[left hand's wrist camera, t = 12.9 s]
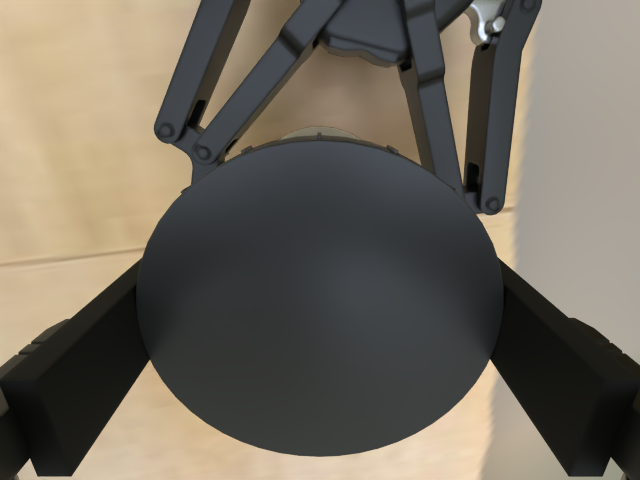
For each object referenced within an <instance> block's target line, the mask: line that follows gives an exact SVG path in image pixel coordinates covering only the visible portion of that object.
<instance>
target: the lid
mask: <svg viewBox="0 0 640 480" xmlns="http://www.w3.org/2000/svg"><path fill="white" fill-rule="evenodd" d="M397 152H398V150H396V149H394V148H393V147H391V146H389V145H387V147H386V148H385V147H382V146H379V145H377V144H374V143H371V142H367V141H363V140H358V139H353V138H349V137H340V136H326V135H321V132H318V133H317V135H314V136H299V137H292V138H287V139H282V140H277V141H272V142H269V143H266V144H263V145H260V146H258V147H255V148H252V146H249V147H247V148H245V149H244V150H242V151H241V154H239V155H237V156H235V157H233V158H232V159H230V160H228V161H226V162H224V163H223V164H221V165H219V166H217V167H216V168H214V169H213V170H211V171H210V172H208V173H207V174H206V175H204V176H203V177H201V178H200V179H199V180H197V181H196V182H194V183H193V184H192V185H190V186H189V187H187V188H185V189H184V190H182V191H181V193H182V194H181V195H180V196H179V197H178V198H177V199H176V200H175V201H174V202H173V203H172V205H171V206H170V207H169V209H168V210H167V211H166V213H165V214H164V215H163V217H162V218H161V219H160V221H159V222H158V224H157V226H156V228H155V229H154V231H153V233H152V235H151V237H150V239H149V241H148V243H147V246H146V248H145V251H144V254H143V257H142V260H141V263H140V268H139V274H138V279H137V285H136V310H137V318H138V323H139V328H140V332H141V336H142V340H143V343H144V347H145V349H146V351H147V353H148V356H149V358H150V360H151V362H152V364H153V366H154V368H155V369H156V371H157V372H158V374H159V376H160V377H161V379H162V380H163V382H164V383H165V384H166V386H167V387H168V388H169V389H170V391H171V392H172V393H173V394H174V395H175V397H176V398H177V399H178V400H179V401H180V402H182V403H183V404H184V405H185V406H186V407H187V408H188V409H189V410H190V411H191V412H192V413H194V414H195V415H196V416H198V417H199V418H200V419H202V420H203V421H204V422H206V423H207V424H209V425H210V426H212V427H214V428H215V429H217V430H219V431H220V432H222V433H224V434H226V435H228V436H230V437H233V438H235V439H237V440H239V441H241V442H244V443H247V444H250V445H253V446H255V447H258V448H262V449H266V450H270V451H274V452H278V453H284V454H291V455H298V456H315V457H323V456H341V455H349V454H356V453H361V452H366V451H370V450H374V449H378V448H381V447H384V446H387V445H390V444H393V443H396V442H398V441H401V440H403V439H405V438H407V437H409V436H411V435H414V434H416V433H417V432H419V431H421V430H423V429H424V428H426V427H428V426H429V425H431V424H433V423H434V422H435V421H437V420H438V419H439V418H441V417H442V416H443V415H445V414H446V413H447V412H449V411H450V410H451V409H452V408H453V407H454V406H455V405H456V404H457V403H458V402H459V401H460V400H461V399H462V398H463V397H464V396H465V395H466V394H467V393H468V391H469V390H470V389H471V388H472V387H473V385H474V384H475V383H476V381H477V380H478V378H479V377H480V375H481V374H482V372H483V371H484V369H485V367H486V366H487V364H488V361H489V359H490V357H491V355H492V353H493V351H494V349H495V346H496V342H497V339H498V336H499V332H500V328H501V323H502V316H503V309H504V287H503V280H502V274H501V268H500V264H499V261H498V258H497V255H496V252H495V249H494V246H493V243H492V241H491V239H490V237H489V235H488V233H487V232H486V230H485V228H484V226H483V224H482V222H481V221H480V220H479V218H478V217H477V215H476V214H475V213H474V211H473V210H472V209H471V207H470V206H469V205H468V203H467V202H466V201H465V200H464V199H463V198H462V197H461V196H460V195H459V194H458V190H457V189H455V188H453V187H452V186H450V185H448V184H447V183H445V182H444V181H443V180H441V179H440V178H439V177H437V176H436V175H434V174H433V173H432V172H430V171H429V170H427V169H426V168H424V167H422V166H421V165H419V164H417V163H416V162H414V161H412V160H410V159H408V158H406V157H404V156H403V155H401V154H399V153H397Z"/></svg>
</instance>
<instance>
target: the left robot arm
mask: <svg viewBox="0 0 640 480" xmlns="http://www.w3.org/2000/svg"><path fill="white" fill-rule="evenodd" d="M497 258H498V257H497ZM141 260H142V258H141V259H140V260H139V261H138V262H137V263H135V264H134V265H133V266H132V267H131V268H129V269H128V270H127V271H126V272H125V273H124V274H122V275H121V276H120V277H119V278H118V279H117V280H115V281H114V282H113V283H112V284H111V285H110V286H108V287H107V288H106V289H105V290H104V291H103V292H101V293H100V294H99V295H98V296H97V297H96V298H94V299H93V300H92V301H91V302H90V303H88V304H87V305H86V306H85V307H84V308H83V309H81V310H80V311H79V312H78V313H77V314H76V315H74V316H73V317H72V318H71V319H65V320H63V321H62V322H60V323H58V324H56V325H54V326H52V327H50V328H48V329H46V330H45V331H44V332H43V333H42V334H40V335H39V336H38V337H37V338H35V339H34V340H33V341H32V342H31V344H28V345H27V346H26V347H24V348H23V349H22V350H21V351H20V352H19V354H18V355H15V356H13V357H12V358H11V359H10V360H9V361H7V362H6V363H5V364H4V365H2V366H1V367H0V480H19V478H18V476H17V473H18V472H19V471H20V469H21V468H22V467H23V466H24V465H25V463H26V462H27V461H28V460H29V459H31V462H32V464H33V466H34V469H35V471H36V473H37V476H72V475H73V473H74V472H75V470H76V469H77V467H78V466H79V464H80V463H81V461H82V460H83V458H84V457H85V455H86V454H87V452H88V451H89V449H90V448H91V446H92V445H93V443H94V442H95V440H96V439H97V437H98V436H99V434H100V433H101V432H102V430H103V429H104V427H105V426H106V424H107V423H108V421H109V420H110V418H111V417H112V415H113V414H114V412H115V411H116V409H117V408H118V406H119V405H120V403H121V402H122V400H123V399H124V397H125V396H126V394H127V393H128V391H129V390H130V388H131V387H132V385H133V384H134V382H135V381H136V379H137V378H138V376H139V375H140V373H141V372H142V370H143V369H144V367H145V366H146V364H147V363H148V361H149V360H150V358H149V356H148V353H147V351H146V349H145V347H144V343H143V340H142V336H141V332H140V328H139V323H138V318H137V310H136V285H137V279H138V274H139V268H140V263H141ZM498 261H499V264H500V268H501V274H502V280H503V287H504V309H503V316H502V323H501V328H500V332H499V336H498V339H497V342H496V346H495V349H494V351H493V353H492V355H491V357H490V360H491V361H492V363H493V364H494V366H495V367H496V369H497V370H498V372H499V373H500V375H501V376H502V378H503V379H504V381H505V382H506V384H507V385H508V387H509V388H510V389H511V391H512V392H513V394H514V395H515V397H516V398H517V400H518V401H519V403H520V404H521V406H522V407H523V409H524V410H525V412H526V413H527V415H528V416H529V418H530V419H531V421H532V422H533V424H534V425H535V427H536V428H537V430H538V431H539V433H540V434H541V436H542V437H543V439H544V440H545V442H546V443H547V445H548V446H549V448H550V449H551V451H552V452H553V454H554V455H555V456H556V458H557V459H558V461H559V462H560V464H561V466H562V467H563V468H564V470H565V471H566V473H567V474H568V476H601V477H602V476H603V474H604V472H605V469H606V467H607V464H608V462H609V460H610V457H611V458H612V459H613V460H614V461H615V462H616V464H617V465H618V466H619V467H620V468H621V470H622V471H623V472H624V473H623V476H622V478H621V480H640V365H639V364H638V363H636V362H635V361H634V360H633V359H631V358H630V357H629V356H628V355H626V354H623V353H622V350H620V349H619V348H618V347H617V346H615V345H614V344H613V343H610V342H609V340H608V339H607V338H606V337H604V336H603V335H602V334H601V333H599V332H598V331H597V330H596V329H594V328H593V327H591V326H589V325H587V324H585V323H583V322H581V321H579V320H577V319H576V318H568V317H567V316H566V315H565V314H563V313H562V312H561V311H560V310H559V309H558V308H556V307H555V306H554V305H553V304H552V303H551V302H549V301H548V300H547V299H546V298H545V297H544V296H542V295H541V294H540V293H539V292H538V291H536V290H535V289H534V288H533V287H532V286H531V285H529V284H528V283H527V282H526V281H525V280H524V279H522V278H521V277H520V276H519V275H518V274H517V273H515V272H514V271H513V270H512V269H511V268H510V267H508V266H507V265H506V264H505V263H504V262H503V261H501V260H500V259H499V258H498Z"/></svg>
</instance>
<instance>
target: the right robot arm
mask: <svg viewBox="0 0 640 480" xmlns="http://www.w3.org/2000/svg"><path fill="white" fill-rule="evenodd" d="M250 1H251V0H201V3H200V5H199V8H198V11H197V13H196V16H195V19H194V21H193V24H192V26H191V29H190V32H189V34H188V37H187V40H186V42H185V45H184V48H183V50H182V53H181V56H180V58H179V61H178V63H177V66H176V69H175V71H174V74H173V77H172V79H171V82H170V85H169V87H168V90H167V92H166V95H165V98H164V100H163V103H162V106H161V108H160V111H159V114H158V116H157V119H156V121H155V124H154V132H155V135H156V136H157V138H158V139H159V140H160V141H162V142H164V143H167V144H169V143H171V144H172V145H174V146H176V147H177V148H179V149H181V150H182V151H184V152H185V153H186V154H187V155H188V156H189V157H190V159H191V161H192V164H193V170H192V181H191V185H192V184H193V183H194V182H196V181H197V180H199V179H200V178H201V177H203V176H204V175H206V174H207V173H208V172H210V171H211V170H213V169H214V168H216V167H217V166H219V165H221V164H223V163H224V162H225V156H227V155H228V154H229V153H228V152H229V151H230V150H231V149H232V148H233V146H234V145H235V144H236V143H237V141H238V140H239V139H240V138H241V137H242V135H243V134H244V133H245V132H246V131H247V129H248V128H249V127H250V126H251V125H252V123H253V122H254V121H255V120H256V119H257V117H258V116H259V115H260V114H261V113H262V111H263V110H264V109H265V108H266V107H267V105H268V104H269V103H270V102H271V100H272V99H273V98H274V97H275V96H276V94H277V93H278V92H279V91H280V90H281V88H282V87H283V86H284V85H285V84H286V82H287V81H288V80H289V79H290V78H291V76H292V75H293V74H294V73H295V72H296V70H297V69H298V68H299V67H300V66H301V64H302V63H304V62H305V61H306V60H307V59H308V57H309V56H310V55H311V54H312V53H313V52H314V50H315V49H316V48H317V47H318V46H319V44H320V45H321V46H322V47H323V48H324V49H326V50H328V53H330V54H334V55H338V56H342V57H347V56H360V57H362V58H363V59H365V60H367V61H368V62H370V63H372V64H373V65H377V66H381V67H385V68H389V67H391V66H397V67H398V71H399V76H400V80H401V84H402V86H403V88H404V90H405V93H406V97H407V102H408V106H409V111H410V115H411V120H412V125H413V129H414V134H415V138H416V143H417V147H418V152H419V156H420V161H421V165H422V167H424V168H426V169H427V170H429V171H430V172H432V173H433V174H434V175H436V176H437V177H439V178H440V179H441V180H443V181H444V182H445V183H447V184H448V185H450V186H452V187H453V188H455V189H457V190H458V194H459V195H460V196H461V197H462V198H463V199H464V200H465V201H466V202H467V203H468V205H469V206H470V207H471V209H472V210H473V211H474V213H475V214H479V213H485V214H486V215H494V214H497V213H498V212H500V211H501V209H502V208H503V206H504V202H505V194H506V185H507V176H508V168H509V159H510V150H511V142H512V133H513V124H514V116H515V107H516V98H517V90H518V81H519V72H520V64H521V55H522V50H523V48H524V45H525V43H526V41H527V38H528V36H529V34H530V31H531V29H532V27H533V24H534V22H535V20H536V17H537V15H538V13H539V10H540V8H541V4H542V0H300V2H301V4H300V6H299V7H298V8H297V9H296V11H295V12H294V13H293V15H292V16H291V17H290V18H289V20H288V21H287V22H286V24H285V25H284V26H283V28H282V29H281V31H280V34H279V36H278V37H277V39H276V40H275V41H274V43H273V44H272V45H271V46H270V48H269V49H268V50H267V52H266V53H265V54H264V55H263V57H262V58H261V59H260V60H259V62H258V63H257V64H256V66H255V67H254V68H253V69H252V71H251V72H250V73H249V74H248V76H247V77H246V78H245V79H244V81H243V82H242V83H241V85H240V86H239V87H238V88H237V90H236V91H235V92H234V93H233V95H232V96H231V97H230V98H229V100H228V101H227V102H226V104H225V105H224V106H223V107H222V109H221V110H220V111H219V112H218V114H217V115H216V116H215V118H214V119H213V120H212V121H211V123H210V124H209V125H208V126H207V128H206V129H204V128H202V127H200V126H199V124H200V122H201V120H202V117H203V115H204V112H205V110H206V108H207V105H208V103H209V101H210V98H211V96H212V94H213V91H214V89H215V86H216V84H217V82H218V79H219V77H220V75H221V72H222V70H223V67H224V65H225V63H226V60H227V58H228V56H229V53H230V51H231V49H232V46H233V44H234V41H235V39H236V37H237V34H238V32H239V30H240V27H241V25H242V23H243V20H244V18H245V15H246V13H247V10H248V7H249V5H250ZM462 13H465V14H466V15H467V16H468V17H469V19H470V22H471V29H470V38H471V41H472V42H473V43H474V44H475V45H476V48H475V52H474V56H473V61H472V68H471V80H470V95H469V109H468V123H467V137H466V151H465V165H464V179H463V184H462V178H461V173H460V167H459V162H458V156H457V151H456V146H455V140H454V135H453V129H452V124H451V118H450V113H449V107H448V102H447V96H446V91H445V85H444V74H445V63H444V58H443V52H442V47H441V41H440V36H439V34H440V33H441V32H442V31H443V30H445V29H446V28H447V27H448V26H449V25H450V24H451V23H452V22H453V21H454V20H455V19H457V18H458V17H459V16H460V15H461V14H462Z"/></svg>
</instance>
